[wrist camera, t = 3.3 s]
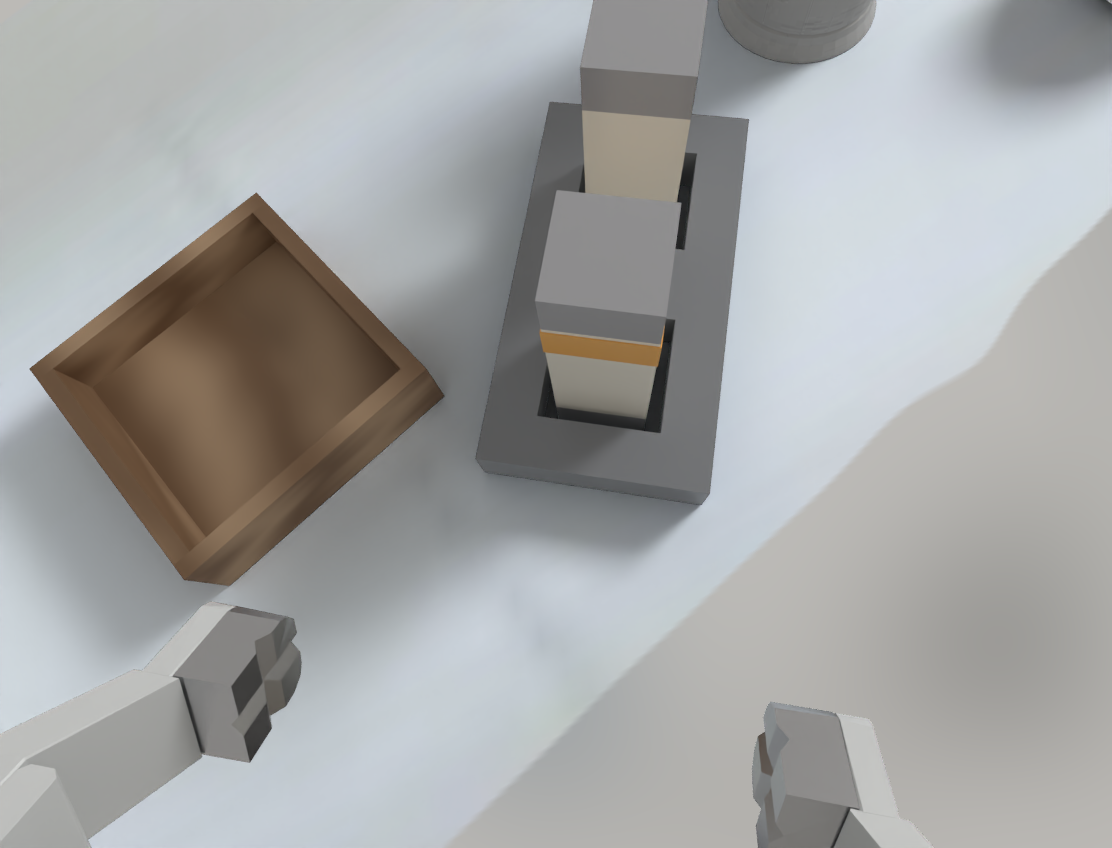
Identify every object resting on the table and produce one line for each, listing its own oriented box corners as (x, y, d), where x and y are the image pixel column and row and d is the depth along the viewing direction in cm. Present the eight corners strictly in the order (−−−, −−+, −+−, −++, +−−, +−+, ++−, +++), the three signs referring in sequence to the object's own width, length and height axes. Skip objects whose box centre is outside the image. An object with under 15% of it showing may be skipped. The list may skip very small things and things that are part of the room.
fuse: (666, 263, 34) (697, 76, 23) (588, 254, 35) (580, 67, 23) (675, 196, 35) (709, -14, 24) (599, 188, 36) (597, -22, 24)
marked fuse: (644, 433, 32) (667, 318, 20) (558, 421, 32) (532, 302, 21) (655, 353, 33) (683, 201, 21) (571, 342, 33) (555, 188, 22)
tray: (229, 585, 31) (184, 579, 27) (85, 394, 34) (29, 368, 31) (444, 395, 33) (426, 368, 29) (288, 233, 36) (256, 192, 33)
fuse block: (701, 505, 30) (709, 494, 28) (484, 472, 32) (475, 459, 29) (739, 153, 36) (748, 119, 33) (553, 136, 37) (549, 101, 35)
